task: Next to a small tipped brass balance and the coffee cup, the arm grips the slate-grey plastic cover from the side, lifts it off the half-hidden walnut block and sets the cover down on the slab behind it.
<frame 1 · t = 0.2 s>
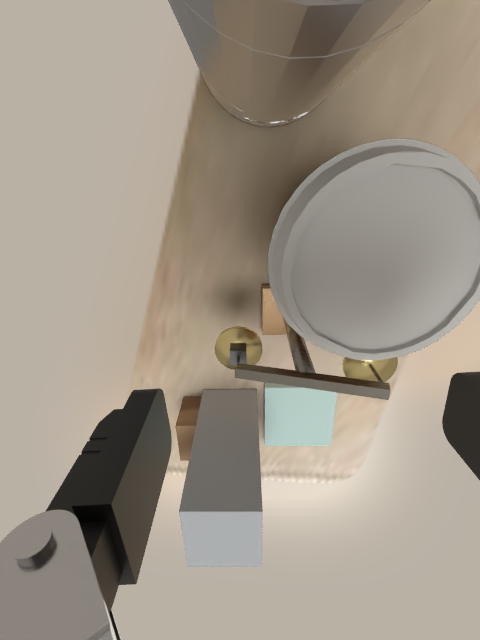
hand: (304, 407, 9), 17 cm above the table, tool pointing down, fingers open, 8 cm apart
block: (206, 412, 32), on the table
balance: (286, 307, 27), on the table
cover: (230, 412, 31), on the table
disposable coffee cup: (322, 225, 24), on the table
slab: (298, 412, 31), on the table
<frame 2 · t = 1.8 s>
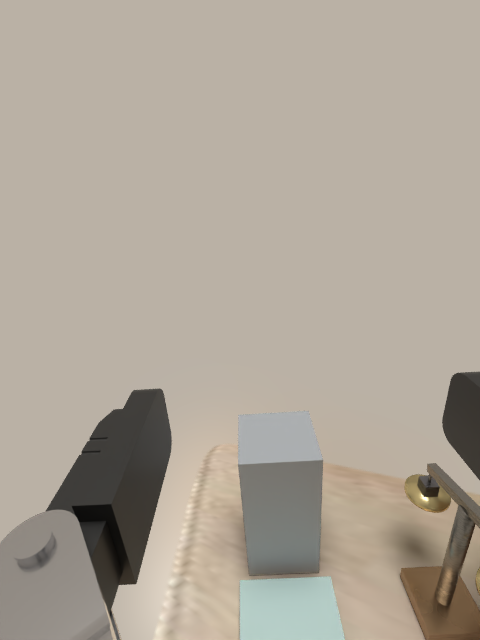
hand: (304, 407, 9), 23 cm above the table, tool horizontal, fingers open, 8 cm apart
balance: (440, 605, 23), on the table
cover: (280, 542, 28), on the table
slab: (291, 638, 22), on the table
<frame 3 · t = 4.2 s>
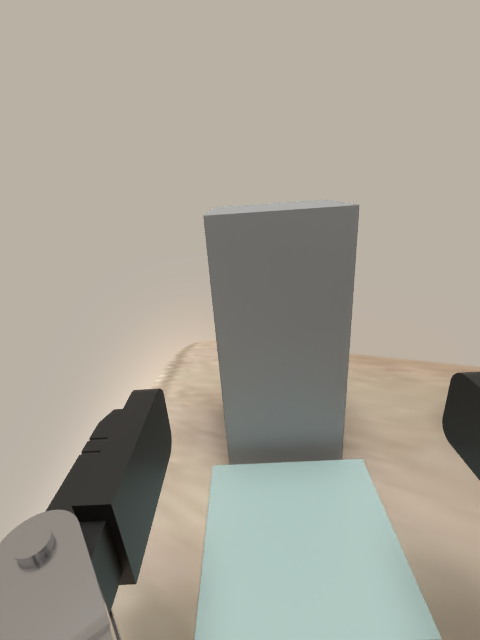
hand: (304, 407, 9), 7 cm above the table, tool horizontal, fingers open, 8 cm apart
cover: (279, 428, 19), on the table
slab: (298, 544, 12), on the table
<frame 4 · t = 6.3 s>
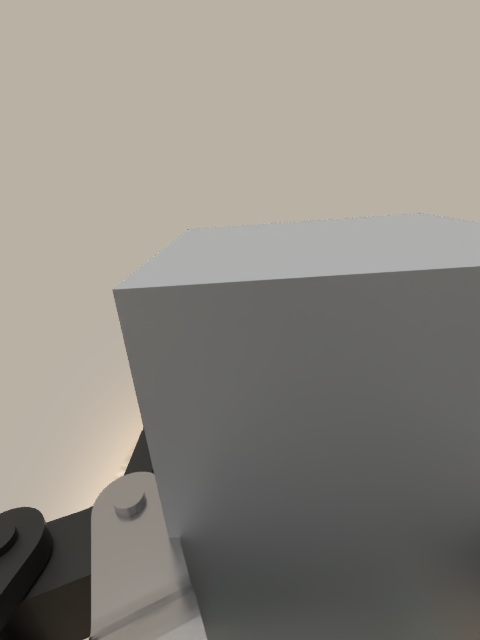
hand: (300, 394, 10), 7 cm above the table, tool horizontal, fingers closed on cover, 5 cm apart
cover: (314, 628, 10), on the table, touching gripper
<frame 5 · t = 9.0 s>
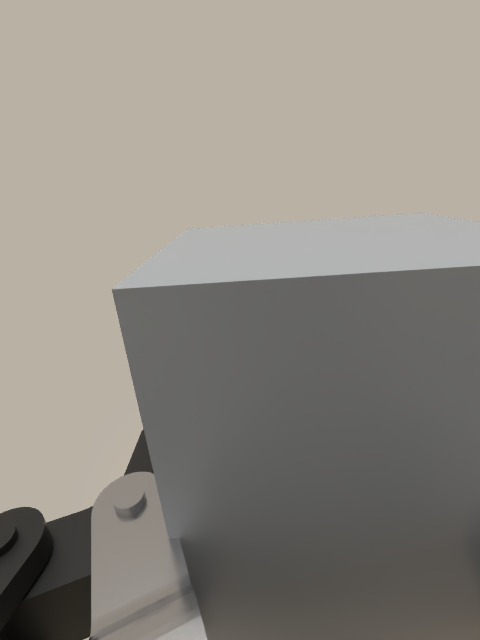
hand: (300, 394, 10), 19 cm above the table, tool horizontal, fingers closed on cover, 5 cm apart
cover: (314, 629, 10), point 12 cm above the table, touching gripper
when the fingers open (9 cm above the table, at t = 11.7 s): cover drops 1 cm, resting on slab.
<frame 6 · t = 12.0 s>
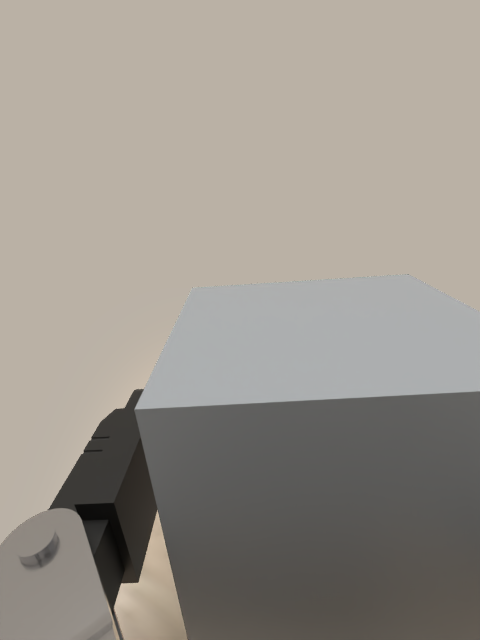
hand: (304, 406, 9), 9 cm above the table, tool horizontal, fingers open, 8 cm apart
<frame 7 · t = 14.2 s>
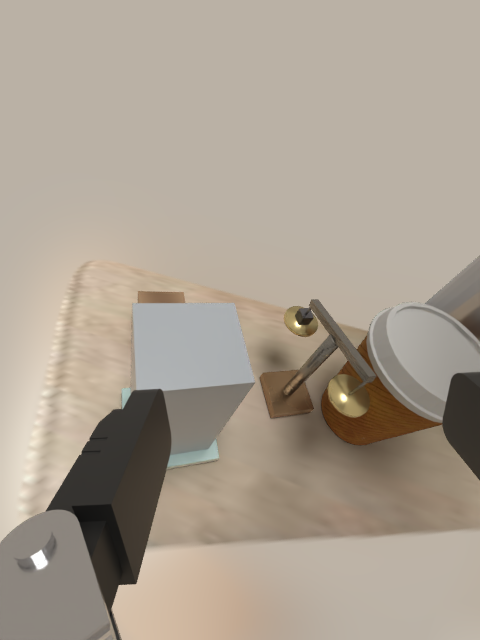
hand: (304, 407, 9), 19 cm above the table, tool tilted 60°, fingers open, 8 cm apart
block: (159, 334, 31), on the table
balance: (284, 394, 31), on the table
cover: (168, 422, 26), point 1 cm above the table, touching slab
disposable coffee cup: (349, 413, 32), on the table
slab: (168, 425, 26), on the table
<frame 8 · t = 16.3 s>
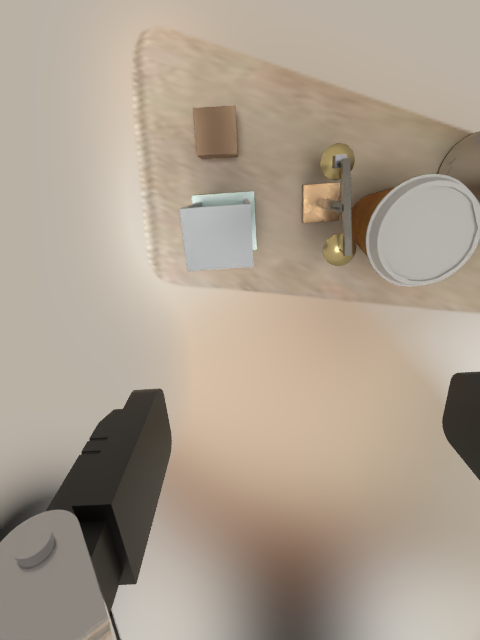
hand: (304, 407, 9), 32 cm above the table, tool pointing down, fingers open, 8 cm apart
block: (218, 137, 35), on the table
balance: (319, 202, 37), on the table
cover: (224, 223, 37), point 1 cm above the table, touching slab
disposable coffee cup: (373, 221, 38), on the table
slab: (225, 222, 38), on the table
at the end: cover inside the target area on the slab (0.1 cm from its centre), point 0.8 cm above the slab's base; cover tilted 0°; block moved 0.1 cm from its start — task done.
